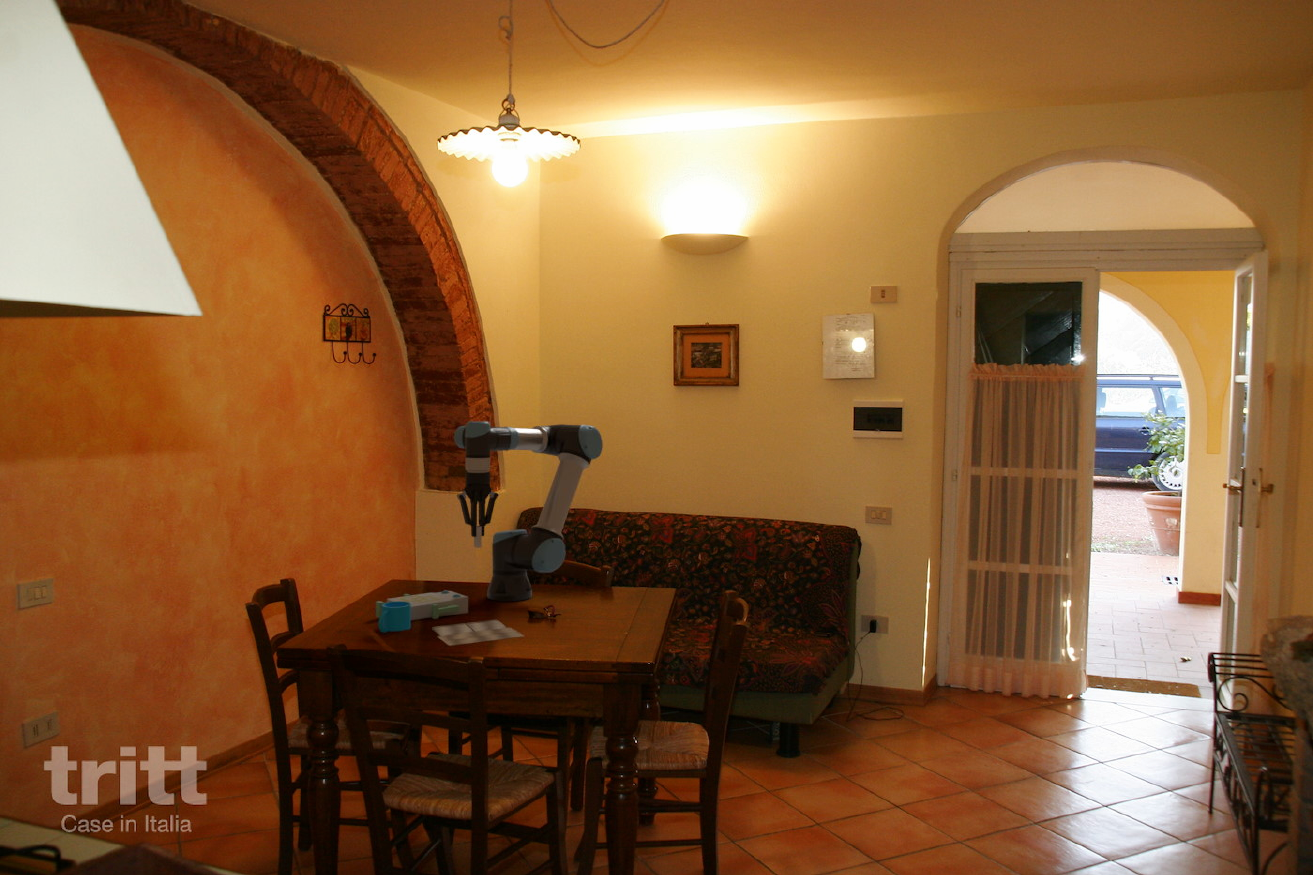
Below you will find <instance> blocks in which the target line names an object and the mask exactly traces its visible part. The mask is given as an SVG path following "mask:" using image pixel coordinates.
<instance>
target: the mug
mask: <svg viewBox="0 0 1313 875" xmlns="http://www.w3.org/2000/svg"><path fill="white" fill-rule="evenodd" d="M411 621H412V620H411V604H410V603H409V602H402V601H396V602H388V603H387V602H384V604H382V615H381V616H380V618H378V629H379V631H380V632H381V633H383V634H385V633H388V632H402V631H407V630H410V629H411V627H412V626H411V625H412V624H411V623H412V622H411Z"/></svg>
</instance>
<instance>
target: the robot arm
mask: <svg viewBox="0 0 1313 875" xmlns="http://www.w3.org/2000/svg"><path fill="white" fill-rule="evenodd" d="M453 439H454V443H455V445H456V446H457V447H458V448H460V449H465V471H466V472H465V487H464V489H463V491H462V492H461V493H458V494H457V495H456V497H457V499H458V501H459V503H460V508H461V511H462V516H463V519H464V523H465V525H468V526H470V528H471V529H470V536H471V537H472V538H473V547H474V548H478V549H479V548H480V549H481V548H483V546H482V543H483V542H482V537H484V536H485V526H487V525H488V524H491V521H492V517H493V513H494V508H495V504H496V500H497V499H498V497H499V493H498V492H495V491H493V490H492V487H491V472H490V470H491V452H498V451H500V452H503V451H504V452H505V451H506V452H508V451H512V450H513V451H531V452H532V453H534V454H543V455H549V456H553V457H557V459H558V461H559V464H558V466H557V469H556V471H555V474H554V477H553V480H552V482H551V485H550V488H549V491H548V494H547V496H546V499H545V502H544V504H543V508H542V510H541V512H540V515H539V518H538V521H537V523H536V524H535V525H533V526H531V527H530V530H529V532H528V531H527V529H525V528H524V529H523V528H522V529H511V530H502V531H497V532H495V533H494V534H493V536H492V543H491V545H492V546H491V548H492V549H491V550H492V555H491V556H492V575H491V579H490V583H489V585H488V589H487V592H486V594H487V595H486V596H487V599H489V600H491V601H496V602H518V601H519V602H520V601H526V600H528V599H531V598H532V596H533V591H532V586H531V583H530V581H529V577H528V572H527V571H532V572H538V573H553V572H554V571H556V570H558V569H559V568H560V567H561V566H562V564H563V563H564V560H565V558H566V545H565V543H564V538H565V537H564V535H563V534H562V531H563V528H564V525H565V522H566V519H567V517H568V514H569V511H570V509H571V505H572V503H573V499H574V497H575V494H576V492H577V488H578V486H579V483H580V480H581V477H582V474H583V471H584V470H586V469H588V468H589V467H590V465H591V461H592V460H596V459H598V458H599V457H600V456H601V454H602V452H603V447H604V445H603V444H604V443H603V442H604V441H603V439H602V434H601V433H600V430H598V428H596V426H594V425H593V426H592V425H587V424H563V423H561V424H552V425H551V424H550V425H536V426H533V427H532V428H530V427H529V428H528V427H526V428H524V427H512V426H491V423H490V422H489V421H468V422H467V423H466V424H465V425H460V426H459V427H457V428H456V430H455V432H454V436H453ZM488 497H489V498H488ZM467 498H468V499H469V503H470V510H469V506H468V503H467V500H466V499H467ZM487 498H488V503H487V506H486V499H487ZM469 511H470V512H469Z"/></svg>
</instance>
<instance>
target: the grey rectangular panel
mask: <svg viewBox="0 0 1313 875" xmlns="http://www.w3.org/2000/svg"><path fill="white" fill-rule="evenodd" d="M465 624H466V625H467V626H468V627H469V628H470V629H471V630H472V631H473V632H478V631H486V630H494V629H502V628H508V627H507V626H506V625H504V624H503V623H502V622H500V621H499V619H491V620H481V621H475V622H466V623H465Z"/></svg>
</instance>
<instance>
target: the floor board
mask: <svg viewBox="0 0 1313 875" xmlns="http://www.w3.org/2000/svg"><path fill="white" fill-rule="evenodd" d="M520 637H525V635H524V634H522V633H520V632H519V631H517V630H515V629H514V628H512V627H507V628H501V629H493V630H485V631H477V632H475V631H473V632H469V633H461V634H452V635H444V636H440V635H438V636H437V638H438V639H440V640H441V641H442V642H444V643H445V644H446V645H447V646H458V645H459V646H460V645H466V644H467V645H468V644H473V643H483V642H488V641H489V642H490V641H495V640H496V641H498V640H504V639H505V640H506V639H514V638H520Z"/></svg>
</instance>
